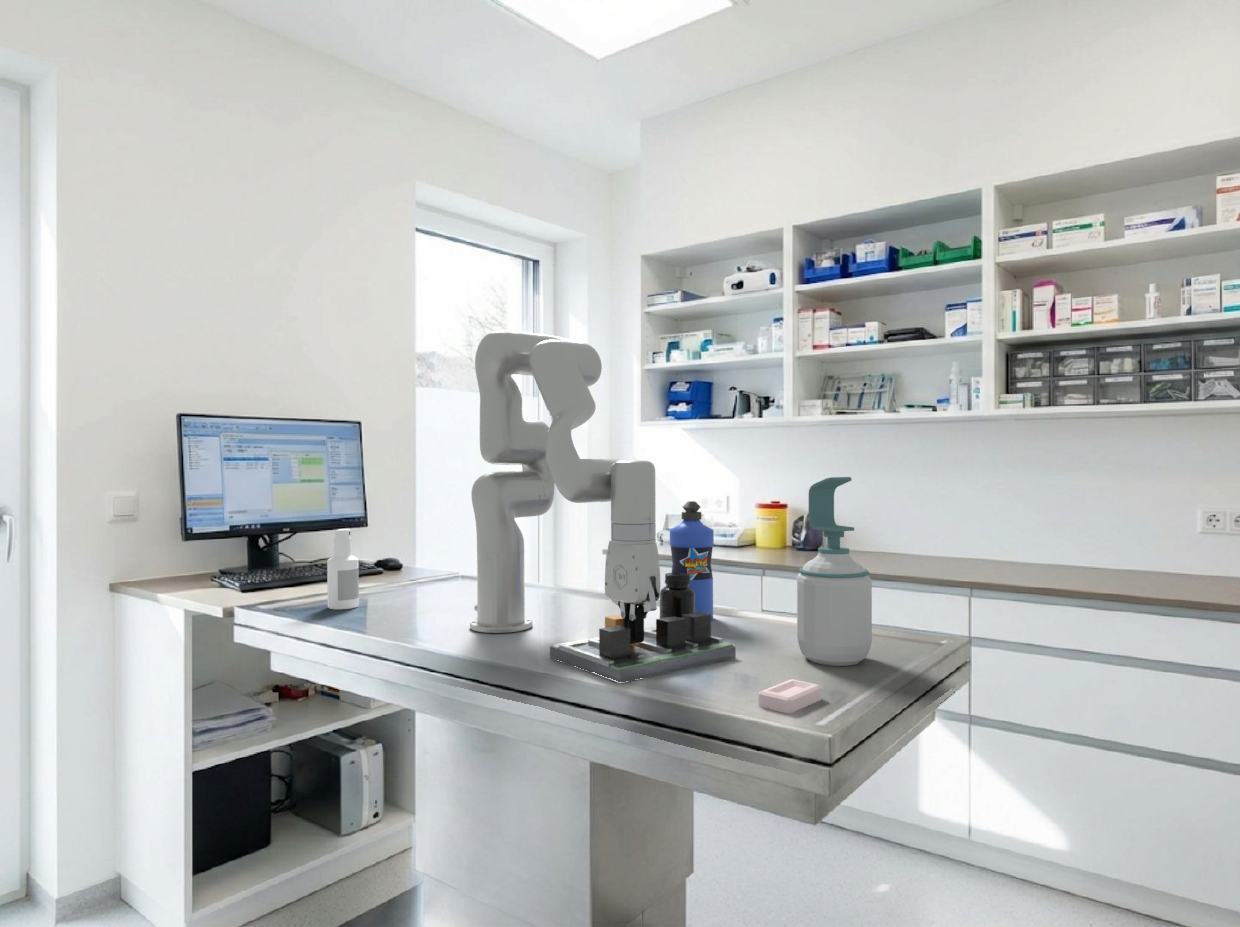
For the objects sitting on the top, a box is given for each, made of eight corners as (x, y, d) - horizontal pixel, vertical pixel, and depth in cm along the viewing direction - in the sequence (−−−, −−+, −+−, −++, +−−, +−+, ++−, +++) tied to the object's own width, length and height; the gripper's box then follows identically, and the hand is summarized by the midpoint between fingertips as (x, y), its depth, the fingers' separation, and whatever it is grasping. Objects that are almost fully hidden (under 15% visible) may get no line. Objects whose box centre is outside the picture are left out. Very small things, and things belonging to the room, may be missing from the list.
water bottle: (719, 622, 168) (718, 502, 167) (675, 624, 166) (675, 503, 166) (707, 613, 177) (706, 500, 177) (665, 615, 175) (665, 500, 175)
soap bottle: (827, 672, 129) (827, 478, 129) (782, 654, 141) (781, 476, 140) (887, 664, 134) (887, 477, 134) (839, 647, 146) (839, 475, 145)
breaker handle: (605, 645, 139) (604, 616, 139) (623, 642, 141) (623, 614, 141) (615, 649, 137) (615, 619, 137) (634, 645, 139) (633, 616, 139)
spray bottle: (352, 610, 183) (352, 530, 183) (323, 610, 183) (322, 531, 183) (362, 604, 190) (362, 528, 189) (334, 604, 190) (333, 528, 190)
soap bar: (756, 708, 113) (756, 690, 113) (790, 693, 119) (790, 677, 119) (790, 716, 109) (790, 698, 109) (823, 701, 116) (823, 684, 116)
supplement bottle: (693, 640, 152) (692, 577, 152) (657, 639, 153) (656, 576, 153) (696, 632, 158) (696, 571, 158) (662, 631, 160) (662, 570, 160)
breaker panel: (549, 657, 139) (549, 617, 139) (660, 637, 154) (660, 600, 154) (620, 683, 123) (620, 638, 123) (735, 658, 139) (735, 617, 138)
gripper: (589, 531, 139) (589, 637, 140) (644, 538, 127) (644, 654, 128) (623, 528, 144) (624, 631, 144) (679, 535, 132) (679, 647, 132)
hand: (633, 641), depth 136 cm, fingers closed
